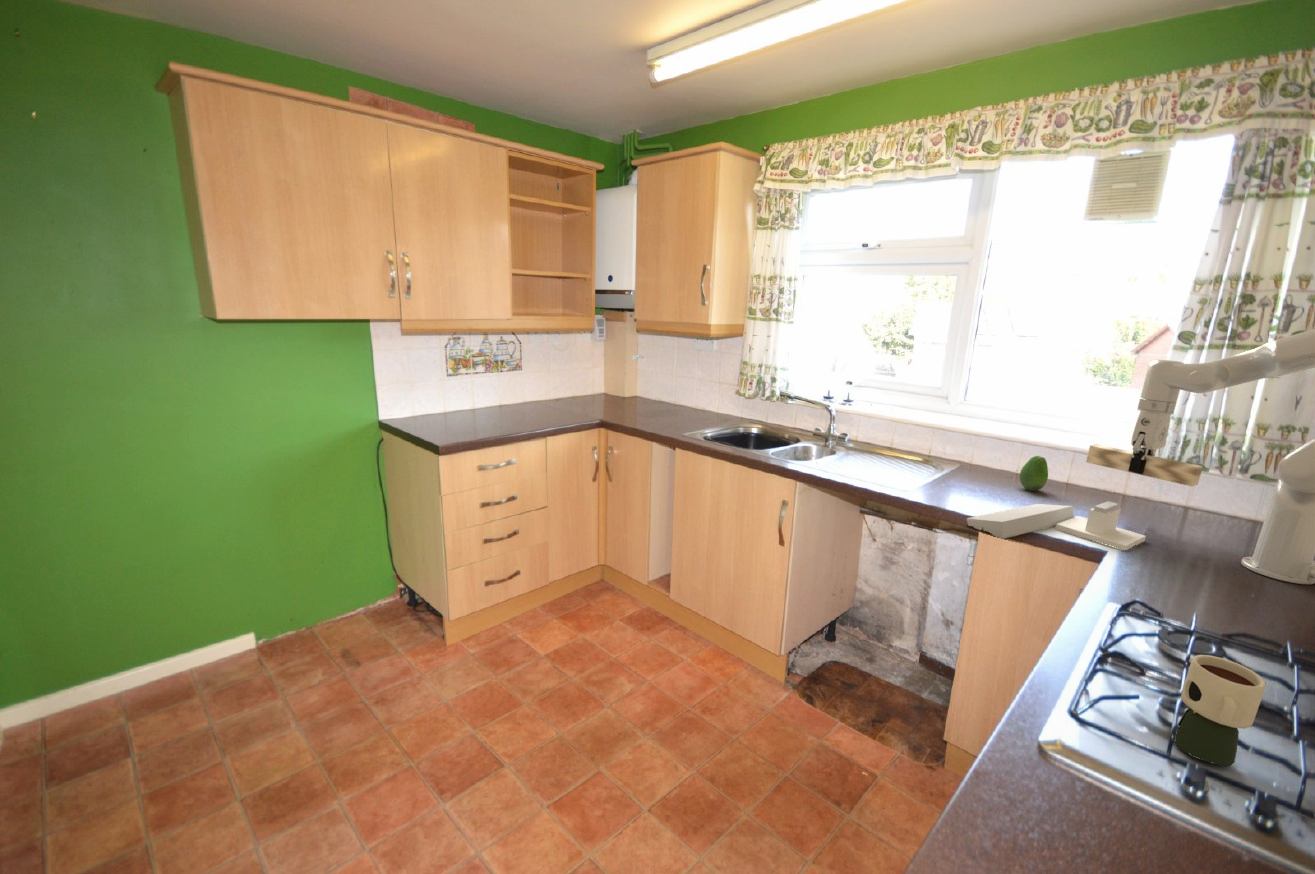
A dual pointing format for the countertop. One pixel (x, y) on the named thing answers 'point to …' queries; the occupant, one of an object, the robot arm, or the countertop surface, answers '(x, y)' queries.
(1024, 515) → the white flat block
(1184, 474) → the beech batten
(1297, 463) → the robot arm
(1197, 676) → the character mug
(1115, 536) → the balance stand
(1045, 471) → the fruit
